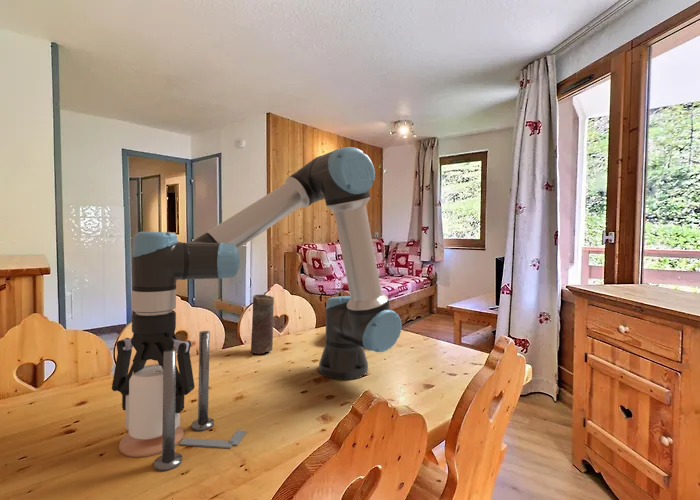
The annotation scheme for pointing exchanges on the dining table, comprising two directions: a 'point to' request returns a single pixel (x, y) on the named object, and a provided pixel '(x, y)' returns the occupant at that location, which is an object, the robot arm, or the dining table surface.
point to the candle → (262, 324)
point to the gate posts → (169, 396)
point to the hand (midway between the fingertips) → (153, 426)
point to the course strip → (215, 441)
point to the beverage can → (146, 402)
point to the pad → (145, 445)
